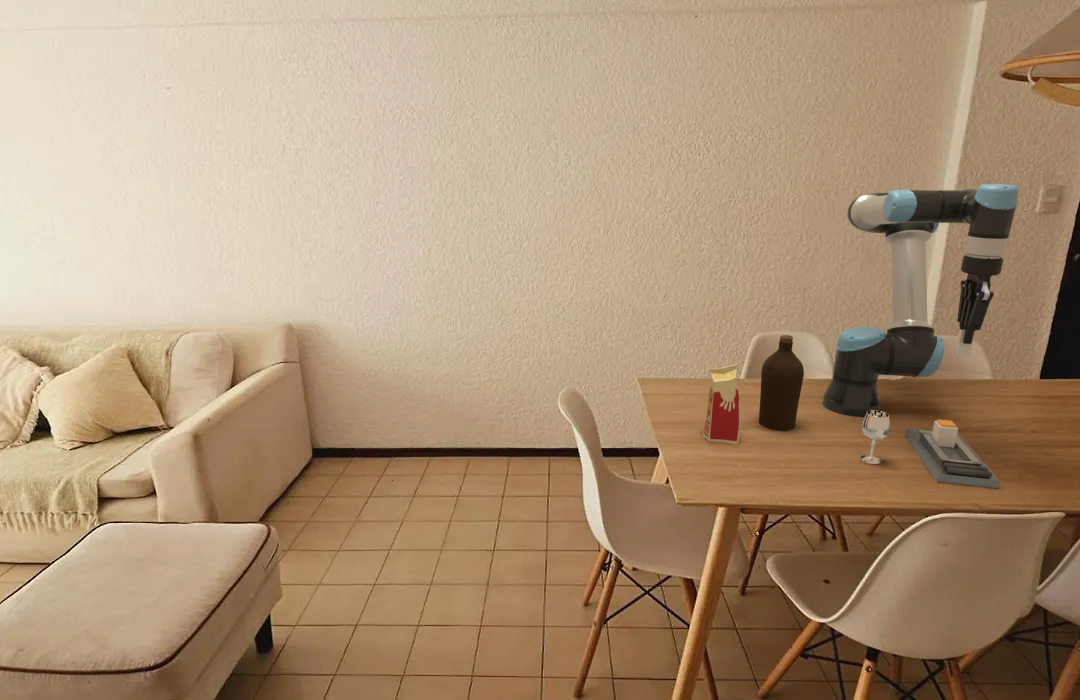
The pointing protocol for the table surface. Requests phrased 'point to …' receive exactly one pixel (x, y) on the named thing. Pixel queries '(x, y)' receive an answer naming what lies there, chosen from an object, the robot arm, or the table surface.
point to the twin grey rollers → (967, 470)
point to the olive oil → (780, 387)
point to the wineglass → (875, 431)
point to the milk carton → (723, 407)
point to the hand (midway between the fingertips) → (961, 355)
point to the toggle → (944, 433)
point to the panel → (948, 459)
